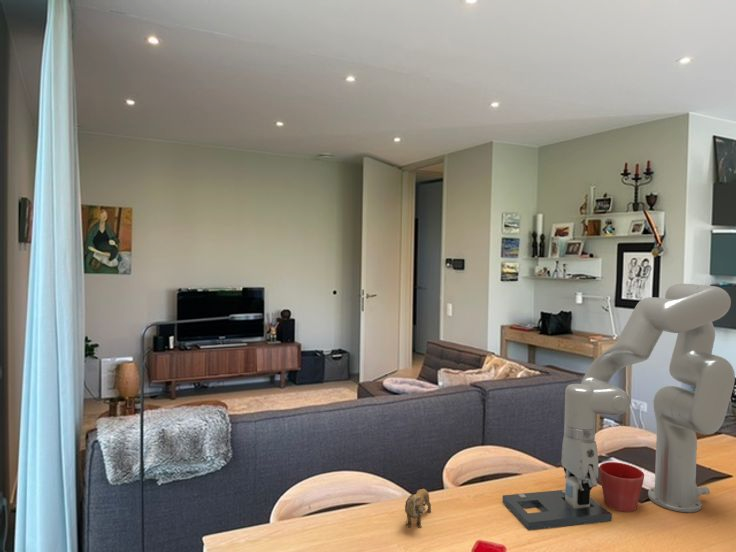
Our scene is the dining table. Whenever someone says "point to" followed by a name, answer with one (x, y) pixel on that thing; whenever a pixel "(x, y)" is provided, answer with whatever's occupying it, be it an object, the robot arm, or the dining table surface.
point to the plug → (573, 492)
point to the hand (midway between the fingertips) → (577, 498)
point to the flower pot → (621, 485)
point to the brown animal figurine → (417, 506)
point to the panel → (553, 510)
